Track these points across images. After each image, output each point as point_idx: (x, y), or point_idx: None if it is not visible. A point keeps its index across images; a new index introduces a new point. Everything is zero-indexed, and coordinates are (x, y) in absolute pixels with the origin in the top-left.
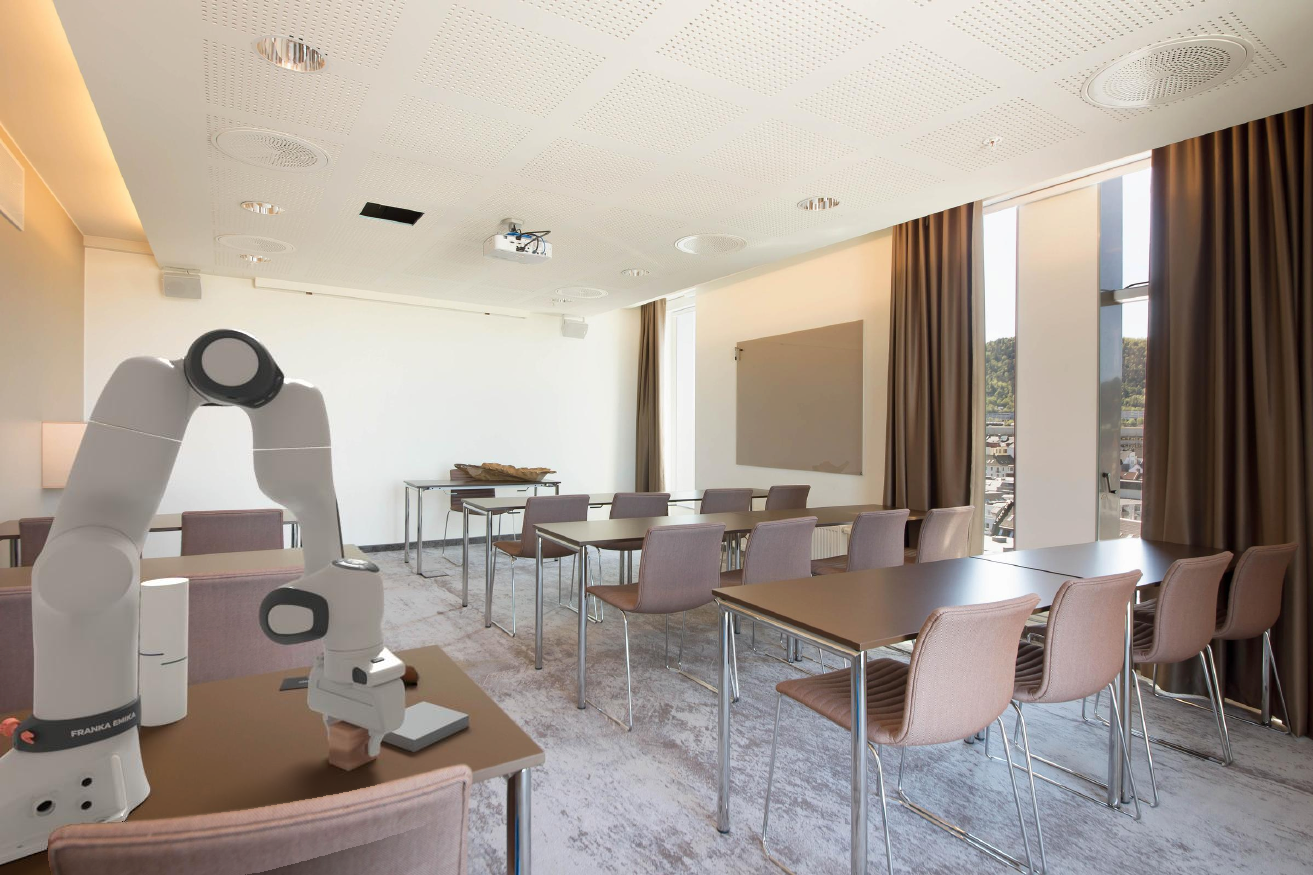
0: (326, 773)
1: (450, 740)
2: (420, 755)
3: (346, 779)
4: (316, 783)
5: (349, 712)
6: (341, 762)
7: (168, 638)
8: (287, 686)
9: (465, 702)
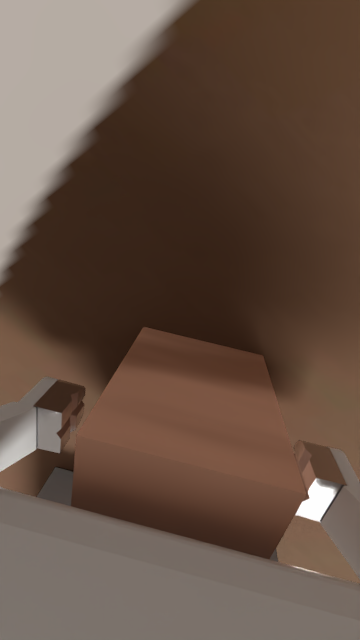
0: (206, 285)
1: None
2: None
3: (97, 271)
4: (180, 202)
5: (64, 633)
6: (184, 346)
7: None
8: None
9: None
